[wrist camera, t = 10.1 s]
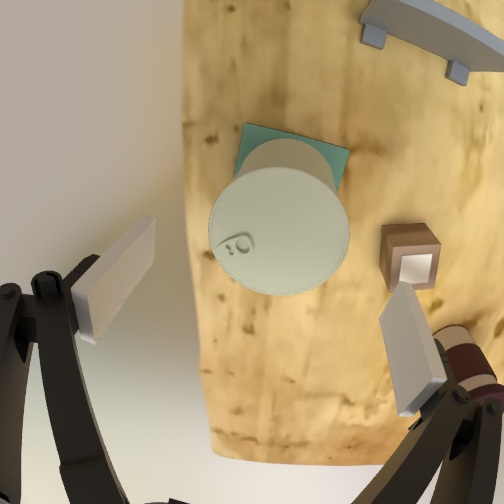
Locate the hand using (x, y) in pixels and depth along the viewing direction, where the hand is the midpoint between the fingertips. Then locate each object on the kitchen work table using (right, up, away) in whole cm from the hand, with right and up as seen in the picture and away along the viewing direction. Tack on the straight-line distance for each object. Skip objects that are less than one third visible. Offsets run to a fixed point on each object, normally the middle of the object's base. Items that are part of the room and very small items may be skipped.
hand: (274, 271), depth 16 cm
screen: (+15, +21, +6) cm, 26 cm away
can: (+2, +7, +14) cm, 16 cm away
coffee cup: (+26, -12, +22) cm, 36 cm away
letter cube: (+15, +2, +16) cm, 22 cm away
